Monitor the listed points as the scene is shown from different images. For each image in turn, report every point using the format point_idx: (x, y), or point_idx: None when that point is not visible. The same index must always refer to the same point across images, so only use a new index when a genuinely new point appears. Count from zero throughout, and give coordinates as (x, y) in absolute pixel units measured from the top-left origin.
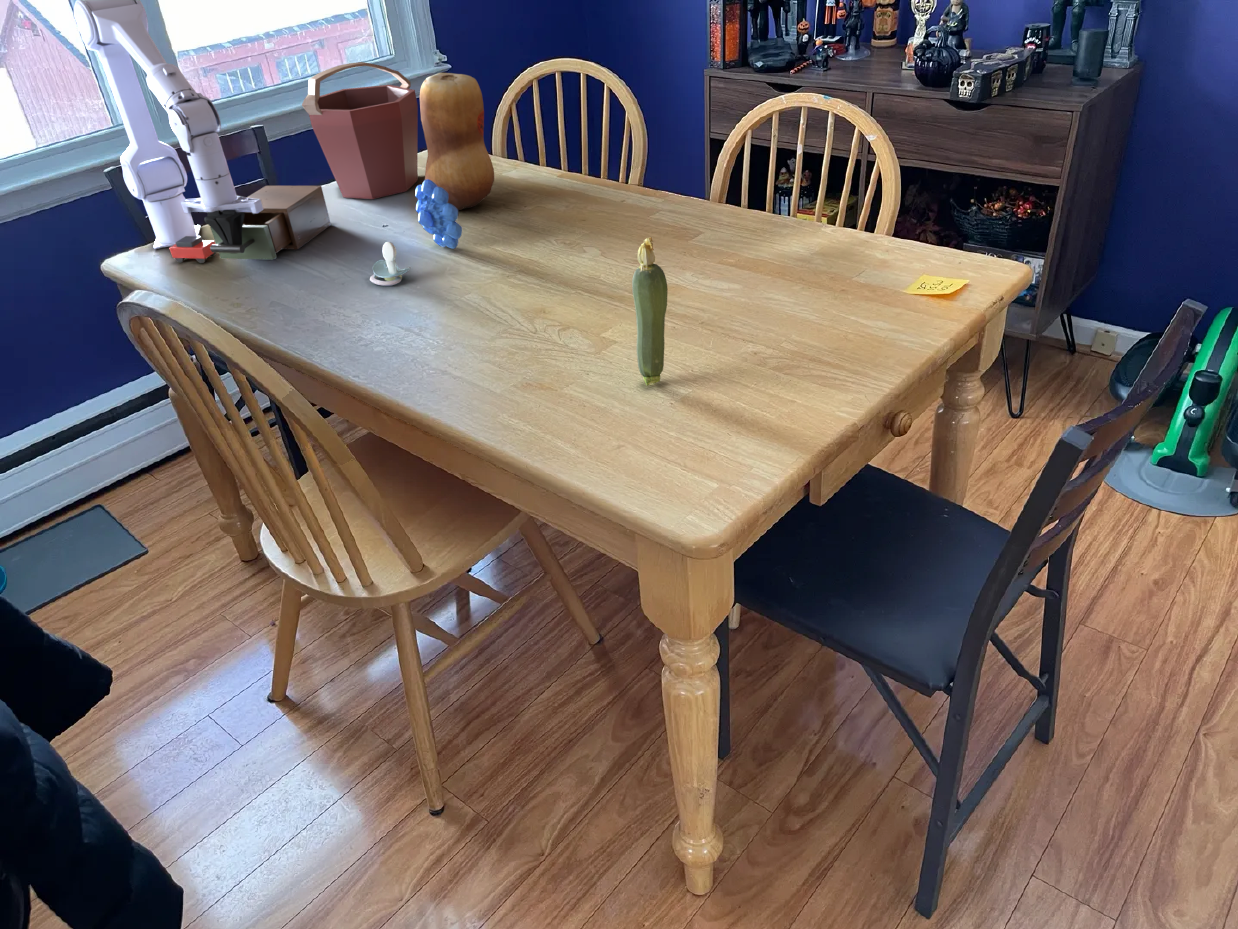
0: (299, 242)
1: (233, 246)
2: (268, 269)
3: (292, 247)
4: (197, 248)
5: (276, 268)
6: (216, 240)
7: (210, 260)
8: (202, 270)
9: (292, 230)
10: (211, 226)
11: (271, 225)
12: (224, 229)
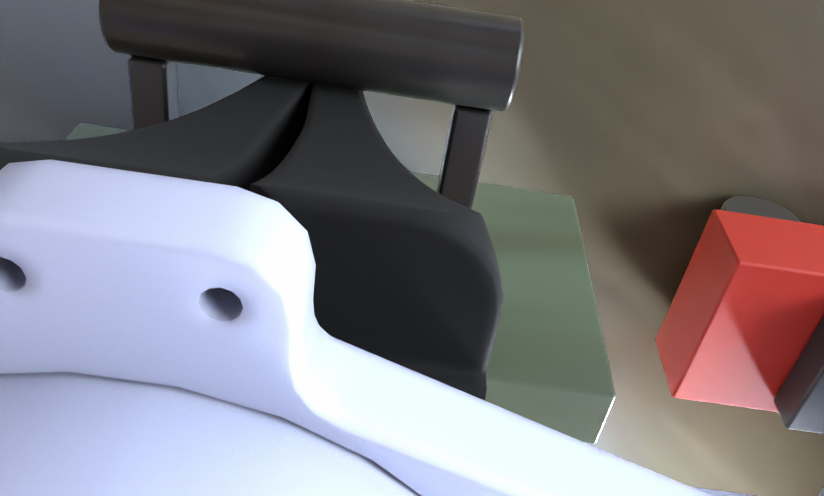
0: None
1: (193, 3)
2: (84, 6)
3: None
4: (783, 266)
5: (25, 20)
6: (574, 289)
7: (690, 238)
8: (701, 47)
9: None
10: (417, 188)
11: None
12: (224, 148)
